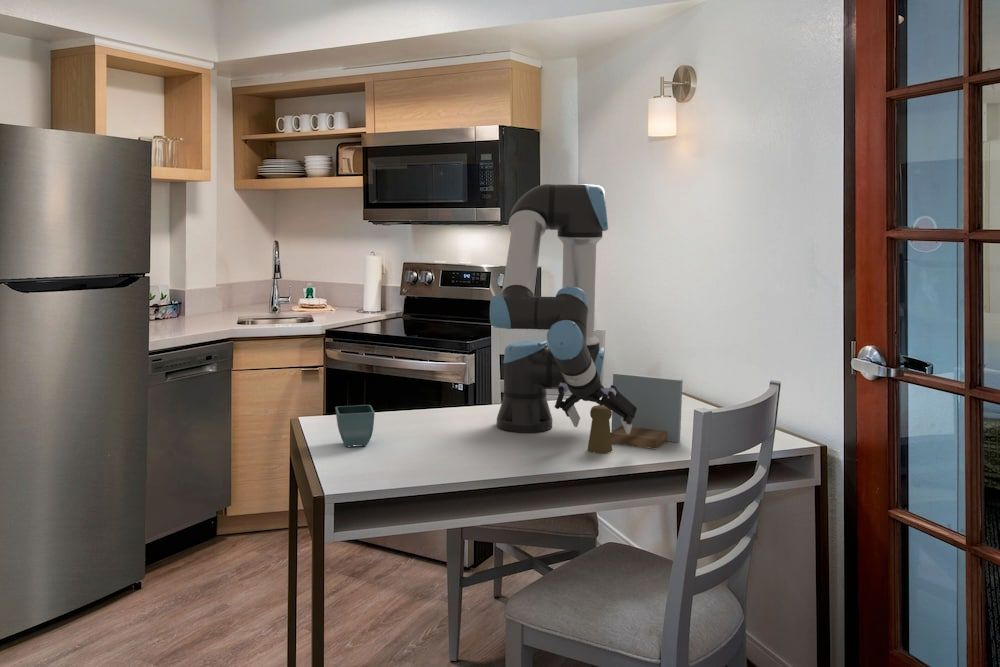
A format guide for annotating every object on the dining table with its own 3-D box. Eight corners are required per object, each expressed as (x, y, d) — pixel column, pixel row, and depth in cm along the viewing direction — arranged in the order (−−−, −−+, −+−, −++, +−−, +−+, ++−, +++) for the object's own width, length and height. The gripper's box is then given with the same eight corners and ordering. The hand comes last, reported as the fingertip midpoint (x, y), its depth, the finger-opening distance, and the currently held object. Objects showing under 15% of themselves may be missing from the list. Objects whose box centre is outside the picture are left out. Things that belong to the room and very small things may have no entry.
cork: (596, 445, 212) (597, 402, 210) (617, 449, 208) (618, 405, 206) (582, 450, 207) (583, 406, 206) (603, 454, 203) (605, 409, 202)
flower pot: (338, 450, 204) (338, 413, 203) (335, 441, 212) (335, 406, 211) (375, 448, 206) (374, 412, 205) (370, 439, 215) (370, 404, 214)
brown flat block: (609, 442, 215) (610, 432, 214) (622, 435, 222) (622, 425, 222) (655, 449, 209) (656, 439, 209) (666, 441, 217) (667, 431, 216)
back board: (611, 433, 224) (613, 373, 222) (613, 432, 225) (615, 372, 223) (678, 442, 215) (680, 380, 213) (680, 441, 217) (682, 379, 215)
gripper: (525, 382, 196) (551, 432, 212) (628, 393, 185) (648, 445, 200) (536, 356, 200) (560, 407, 215) (637, 366, 189) (656, 419, 204)
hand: (602, 425), depth 208 cm, fingers open, 13 cm apart
